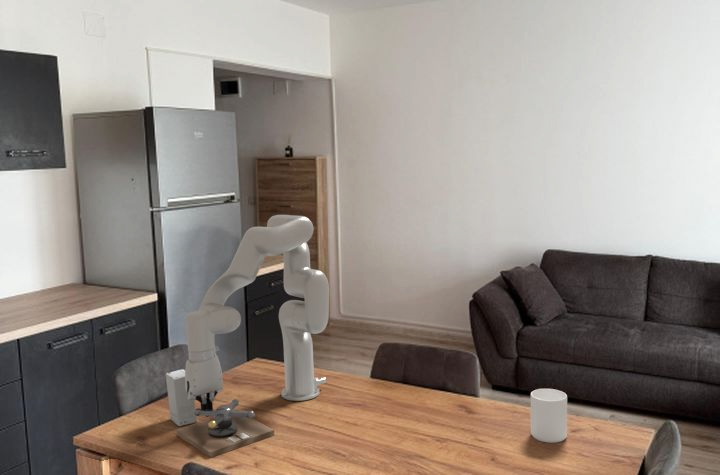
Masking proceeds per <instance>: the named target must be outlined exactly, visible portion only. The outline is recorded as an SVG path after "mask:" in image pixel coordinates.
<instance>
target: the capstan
mask: <svg viewBox="0 0 720 475" xmlns="http://www.w3.org/2000/svg"><path fill="white" fill-rule="evenodd" d="M239 403H240V402H239V400H238V399H237V398H234V399H232V400H231V401H230V402H229V404H227V405H220V406H218V407H217V408H216V409H214V408H213V409H201V407H200V408H199V407H198V408H195V411H194V414H195V415H196V417H199V416H200V417H201V416H202V417H203V416H204V417H206V416H209V417H213V418H212V420H211V419H210V420H211V421H210V422H209V423H208V427H209V428H208V432H209V435H210V436H212V437H227V436H231V435H233V434H235V433H236V432H237V424H235V423H233V422H232V417H241V418H249V419H254V417H255V415H256V414H255V412H254V411H253V410H236V407H238V406H239ZM234 409H235V410H234Z"/></svg>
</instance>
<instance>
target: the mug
mask: <svg viewBox="0 0 720 475" xmlns="http://www.w3.org/2000/svg"><path fill="white" fill-rule="evenodd" d="M530 434H531V436H532V437H533V438H534V439H535V440H537V441H539V442H544V443H547V444H550V443H551V444H555V443H556V444H557V443H560V442H562V441H564V440H565V439H566V438H567V435H568V395H567V394H566V392H563V391H562V390H558V389H553V388H537V389H535V390H533V391H531V392H530Z"/></svg>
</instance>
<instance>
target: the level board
mask: <svg viewBox="0 0 720 475" xmlns="http://www.w3.org/2000/svg"><path fill="white" fill-rule="evenodd" d="M212 419H213V418H212ZM212 419H208V420H205V421H202V422H199V423H196V424H195V423H194V424H193V425H189V426H187V427H183V428H180V429H177V430H176V435H177V437H179V438H181V439H182V440H184V441H185V442H187V444H189V445H190V446H192V447H194V448H195V449H197V450H199V451H200V452H201V453H203V454H204V455H206V456H208V457H209V458H214V457H217V456H219V455H222V454H225V453H228V452H231V451H233V450H236V449H239V448H241V447H245V446H247V445H250V444H254V443H255V442H259V441H261V440H264V439H267V438H270V437H273V436H275V430H274V429H273V428H271V427H269V426H267V425H265V424H263V423H262V422H260V421H258V420H256V419H254V418H252V419H249V418H241V417H232V422H233V423H235V424H237V432H236V433H235V434H233V435H231V436H227V437H212V436H210V435H209V432H208V428H209V427H208V423H209V422H210V421H211V420H212Z"/></svg>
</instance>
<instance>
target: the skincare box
mask: <svg viewBox="0 0 720 475" xmlns="http://www.w3.org/2000/svg"><path fill="white" fill-rule="evenodd" d="M165 379H166V380H165V381H166V382H165V383H166V389H167V398H168V407H169V408H168V409H169V418H170V420H171V421H172V422H173V423H174V424H175V425H177V426H178V427H183V426H186V425H191V424H195V423H197V422H198V420H197V416H196V415H195V414H194V411H195V409H196V403H195V401H196V400H193V401H190V400H188V393H187V392H186V389H185V368H184V369H177V370H173V371H170V372H166V373H165Z"/></svg>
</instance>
